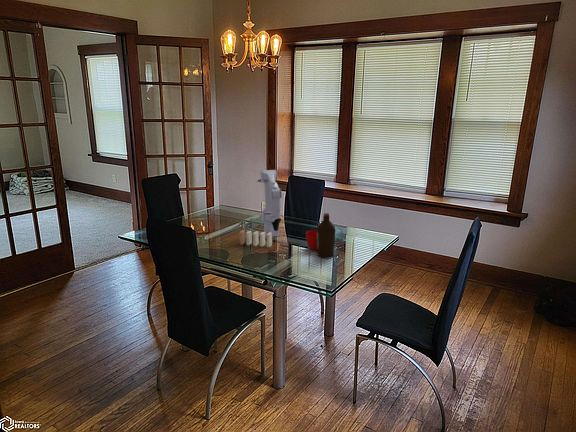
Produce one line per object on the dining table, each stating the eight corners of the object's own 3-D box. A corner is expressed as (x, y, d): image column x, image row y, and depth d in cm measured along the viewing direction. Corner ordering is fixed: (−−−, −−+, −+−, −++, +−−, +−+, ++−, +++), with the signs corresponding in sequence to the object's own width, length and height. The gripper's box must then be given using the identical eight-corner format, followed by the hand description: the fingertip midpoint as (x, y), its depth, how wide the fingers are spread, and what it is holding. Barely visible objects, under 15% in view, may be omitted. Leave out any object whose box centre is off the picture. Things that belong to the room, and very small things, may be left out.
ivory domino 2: (258, 243, 257) (258, 231, 255) (255, 246, 252) (255, 233, 250) (256, 243, 257) (255, 231, 255) (253, 245, 253) (253, 233, 251)
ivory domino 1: (251, 242, 258) (251, 230, 256) (248, 245, 254) (248, 233, 252) (249, 242, 259) (249, 230, 257) (246, 245, 254) (246, 232, 252)
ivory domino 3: (265, 244, 256) (265, 232, 254) (262, 246, 251) (262, 234, 249) (262, 243, 256) (262, 231, 254) (260, 246, 252) (259, 234, 249)
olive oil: (335, 253, 239) (337, 212, 233) (333, 259, 230) (334, 216, 223) (318, 251, 242) (319, 210, 236) (314, 257, 232) (315, 215, 226)
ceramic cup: (321, 242, 258) (321, 227, 256) (329, 251, 242) (330, 235, 240) (301, 244, 256) (301, 229, 253) (308, 253, 240) (309, 237, 237)
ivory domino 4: (272, 244, 254) (271, 232, 252) (269, 247, 250) (269, 234, 248) (269, 244, 255) (269, 232, 253) (266, 247, 250) (266, 234, 248)
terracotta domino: (245, 242, 260) (244, 230, 257) (242, 244, 255) (241, 232, 253) (242, 242, 260) (242, 230, 258) (239, 244, 255) (239, 232, 253)
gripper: (273, 205, 253) (273, 226, 256) (265, 211, 239) (265, 233, 243) (284, 206, 251) (284, 227, 254) (276, 211, 237) (276, 234, 241)
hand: (275, 230), depth 248 cm, fingers closed
